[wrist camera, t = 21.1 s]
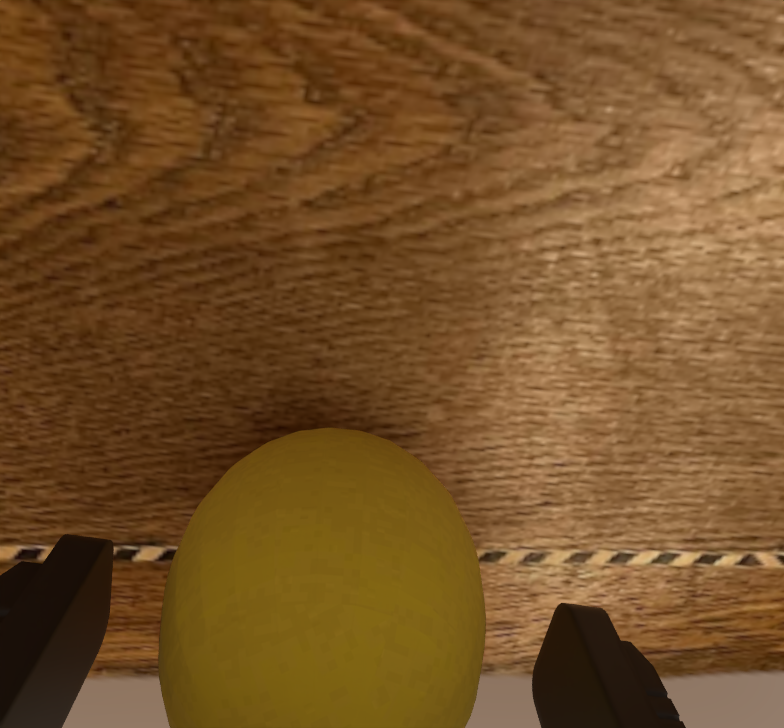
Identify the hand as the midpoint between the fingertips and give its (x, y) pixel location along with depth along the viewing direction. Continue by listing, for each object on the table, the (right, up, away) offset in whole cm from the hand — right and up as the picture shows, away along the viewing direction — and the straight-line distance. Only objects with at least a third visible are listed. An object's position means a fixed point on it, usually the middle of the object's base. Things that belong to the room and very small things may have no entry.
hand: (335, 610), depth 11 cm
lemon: (0, +2, +4) cm, 4 cm away
